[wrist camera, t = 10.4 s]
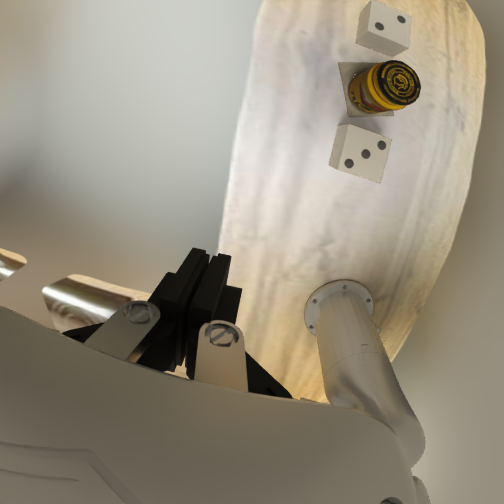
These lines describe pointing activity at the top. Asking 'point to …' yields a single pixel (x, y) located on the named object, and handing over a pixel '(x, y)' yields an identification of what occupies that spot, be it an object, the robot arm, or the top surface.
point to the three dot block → (360, 152)
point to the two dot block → (383, 29)
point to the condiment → (378, 87)
